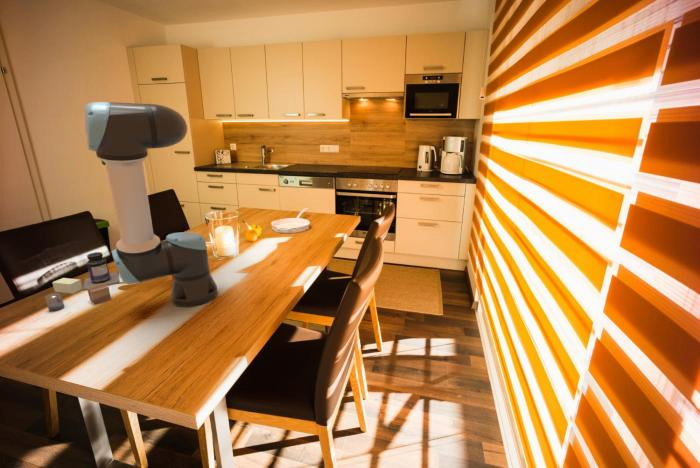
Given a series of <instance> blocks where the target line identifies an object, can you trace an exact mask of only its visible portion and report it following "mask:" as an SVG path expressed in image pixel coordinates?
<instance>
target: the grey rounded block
mask: <svg viewBox="0 0 700 468" xmlns="http://www.w3.org/2000/svg"><path fill="white" fill-rule="evenodd" d="M44 300H45V302H46V306H47V309H48V312H50V313H56V312H60V311H61V310H63V309H65V304H64V300H63V296H62V293H61V292H53V293H48V294H47V295H45V296H44Z"/></svg>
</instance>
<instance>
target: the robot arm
mask: <svg viewBox="0 0 700 468" xmlns="http://www.w3.org/2000/svg"><path fill="white" fill-rule="evenodd" d="M84 121H85V134H86V143H87V144H86V145H87V149H88V150H89V151H92V152H95V154H96V157H97V158H98V159H99V160H100V161H101V164H102V165H103V166H105V168H106V173H107V177H108V181H109V187H110V192H111V197H112V202H113V205H114V206H113V207H114V211H115V216H116V221H117V226H118V231H119V236H120V239H119V240H117V242H116V244H115V247H116V248H114V249H112V250H111V255H112V258H113V261H114V263H115V265H116V268H117V271H118V273H119V277H120V279H121V281H122V282H123V283H124V284H127V285H132V284H133V285H134V284H141V283H143V282H147V281H152V280H156V279H160V278H164V277H167V276H172V277H173V278H172V279H173V283H172V286H171V287H172V288H171V293H170V298H171V299H170V300H171V302H172V304H173V305H174V306H177V307H184V308H186V307H188V308H189V307H195V306H196V307H197V306H199V305H203V304H206V303H209V302H210V301H212V300H214V299H215V298H216V297H217V296H218V293H219V290H218V285H217V284H216V282H215V280H214V278H213V275H212V274H211V271H210V270H211V269H210V263H209V257H208V247H207V241H206V239H205V237H204V236H203V235H201V234H199V233H197V232H187V231H183V232H181V231H180V232H173V233H169V234H168V235H166V237H165V239H166V240H161V238H160V236H158V235H156V234H155V233H154V228H153V220H152V215H151V209H150V207H151V206H150V202H149V196H148V195H149V194H148V187H147V182H146V176H145V169H144V161H145V160H146V159H147V158H148V156H149V153H148V149H163V148H169V147H172V146H174V145H176V144H179V143H180V142H182V141H183V140H184V139H185V137H186V135H187V134H188V133H187V132H188V125H187V121H186V120H185V118H184V117H183V115H182V114H180V112H178V111H176V110H175V109H173V108H171V107H168V106H166V105H161V104H155V103H138V102H137V103H136V102H134V103H133V102H115V101H98V102H97V101H93V102H89V103H88V104H87V105H86V106H85V109H84Z"/></svg>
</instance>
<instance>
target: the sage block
mask: <svg viewBox="0 0 700 468" xmlns="http://www.w3.org/2000/svg"><path fill="white" fill-rule="evenodd" d="M51 283H52V286H53V289H54V293H61V294H62V293H63V294H71V295H72V294H76V293H77V292H80V291H82V290H83V288H84V286H83V284H82V279H80V278H79V279H77V278H67V277H62V278H60V279H57V280H54V281H53V282H51Z"/></svg>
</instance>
